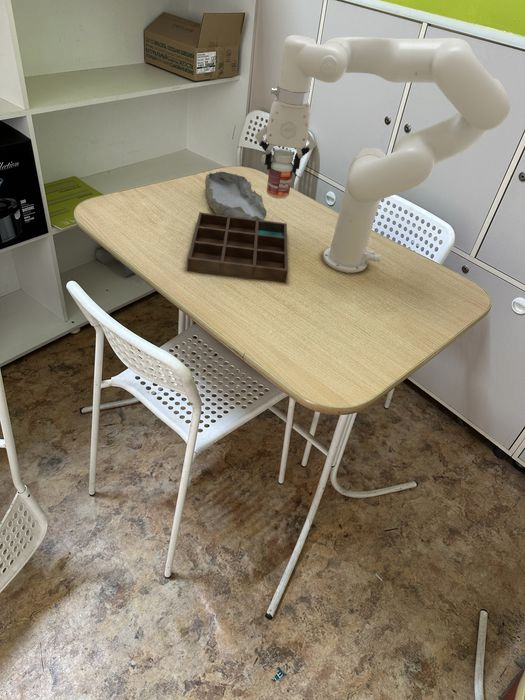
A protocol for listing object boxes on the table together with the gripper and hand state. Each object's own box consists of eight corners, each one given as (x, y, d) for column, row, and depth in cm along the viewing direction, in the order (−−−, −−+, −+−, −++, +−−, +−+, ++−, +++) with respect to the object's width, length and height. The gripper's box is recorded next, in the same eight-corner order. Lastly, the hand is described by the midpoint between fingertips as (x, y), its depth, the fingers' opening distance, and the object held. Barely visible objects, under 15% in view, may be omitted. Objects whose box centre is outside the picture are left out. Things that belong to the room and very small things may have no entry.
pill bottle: (279, 201, 137) (286, 159, 130) (261, 193, 139) (267, 150, 132) (293, 195, 141) (300, 153, 133) (275, 187, 143) (281, 146, 136)
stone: (267, 232, 159) (227, 184, 176) (274, 207, 153) (232, 160, 171) (226, 235, 152) (188, 185, 170) (232, 209, 147) (192, 160, 164)
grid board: (284, 234, 155) (286, 223, 153) (285, 283, 136) (287, 270, 133) (198, 223, 154) (199, 212, 151) (187, 271, 134) (187, 258, 132)
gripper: (256, 95, 120) (247, 171, 132) (329, 106, 122) (314, 179, 133) (256, 86, 126) (248, 159, 138) (327, 96, 127) (313, 168, 139)
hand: (281, 168), depth 136 cm, fingers closed on pill bottle, 6 cm apart
